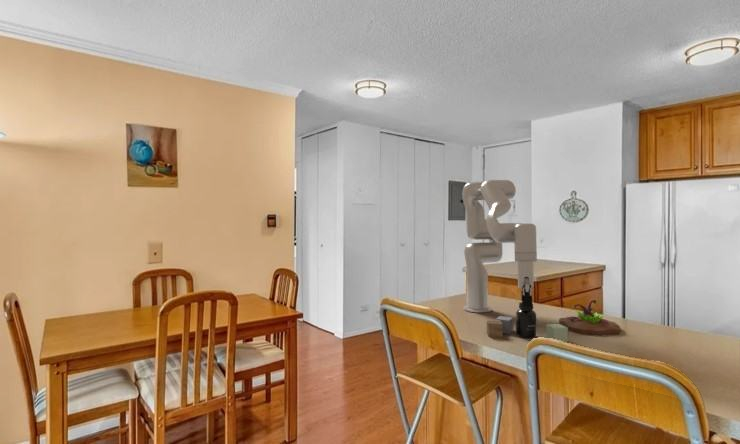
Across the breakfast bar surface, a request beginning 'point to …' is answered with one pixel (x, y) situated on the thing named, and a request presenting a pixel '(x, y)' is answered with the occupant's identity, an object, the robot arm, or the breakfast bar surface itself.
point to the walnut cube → (494, 328)
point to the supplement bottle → (525, 322)
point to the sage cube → (557, 332)
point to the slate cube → (506, 324)
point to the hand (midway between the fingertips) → (526, 304)
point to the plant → (590, 323)
